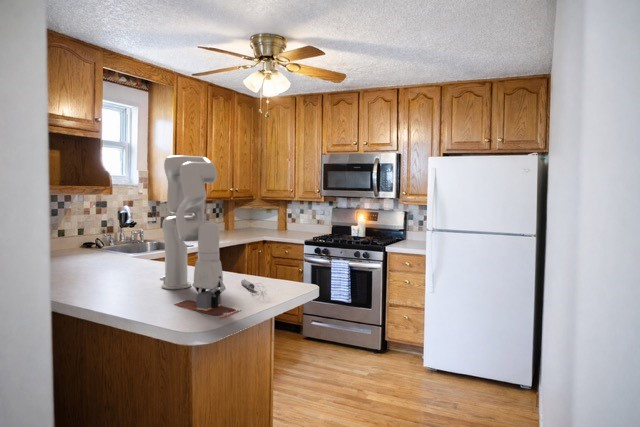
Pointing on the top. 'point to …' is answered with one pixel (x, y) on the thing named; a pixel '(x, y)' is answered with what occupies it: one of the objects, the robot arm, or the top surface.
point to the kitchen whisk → (251, 286)
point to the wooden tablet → (215, 311)
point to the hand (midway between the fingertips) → (208, 305)
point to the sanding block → (206, 300)
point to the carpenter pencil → (230, 314)
